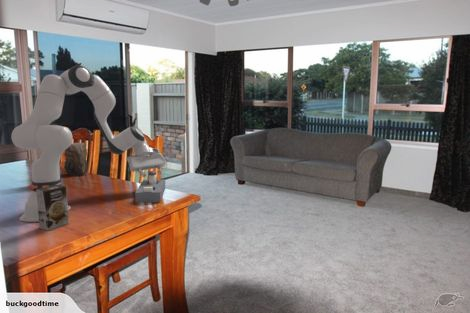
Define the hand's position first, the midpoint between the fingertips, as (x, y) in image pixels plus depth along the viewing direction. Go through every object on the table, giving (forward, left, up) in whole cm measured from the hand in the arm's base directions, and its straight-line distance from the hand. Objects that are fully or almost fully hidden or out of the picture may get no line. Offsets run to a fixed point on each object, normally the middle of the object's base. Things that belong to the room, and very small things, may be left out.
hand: (152, 174), depth 190 cm
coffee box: (-46, +34, -10) cm, 58 cm away
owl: (+44, +54, -10) cm, 70 cm away
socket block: (-6, 0, -9) cm, 11 cm away
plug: (0, 0, -9) cm, 9 cm away
